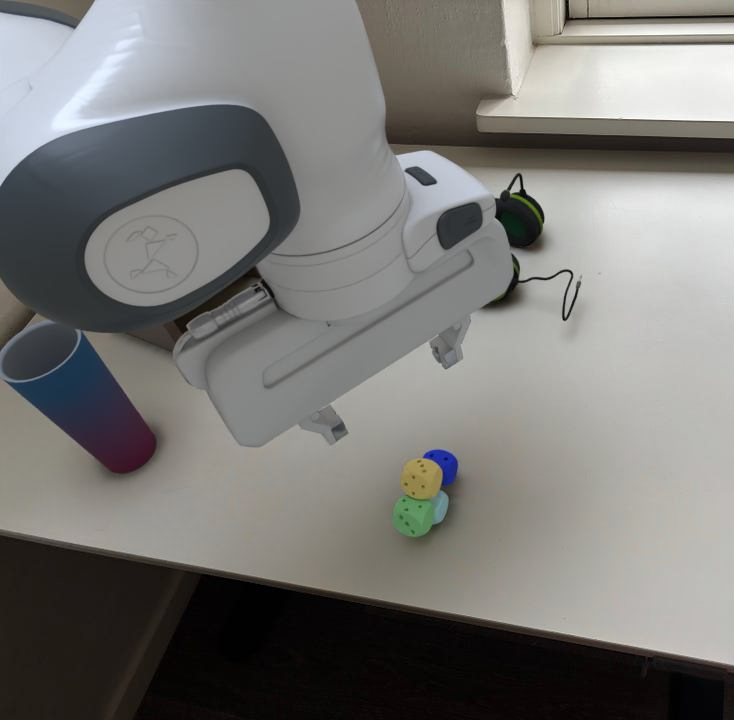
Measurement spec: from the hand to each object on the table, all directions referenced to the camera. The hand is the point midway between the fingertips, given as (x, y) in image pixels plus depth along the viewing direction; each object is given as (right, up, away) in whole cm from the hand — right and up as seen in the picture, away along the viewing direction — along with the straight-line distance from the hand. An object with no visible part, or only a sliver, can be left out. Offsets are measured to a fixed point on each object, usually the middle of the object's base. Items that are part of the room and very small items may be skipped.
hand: (393, 395), depth 49 cm
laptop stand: (-27, +9, +33) cm, 43 cm away
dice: (+2, -10, +12) cm, 16 cm away
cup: (-28, -6, +20) cm, 35 cm away
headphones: (+8, +12, +30) cm, 33 cm away
